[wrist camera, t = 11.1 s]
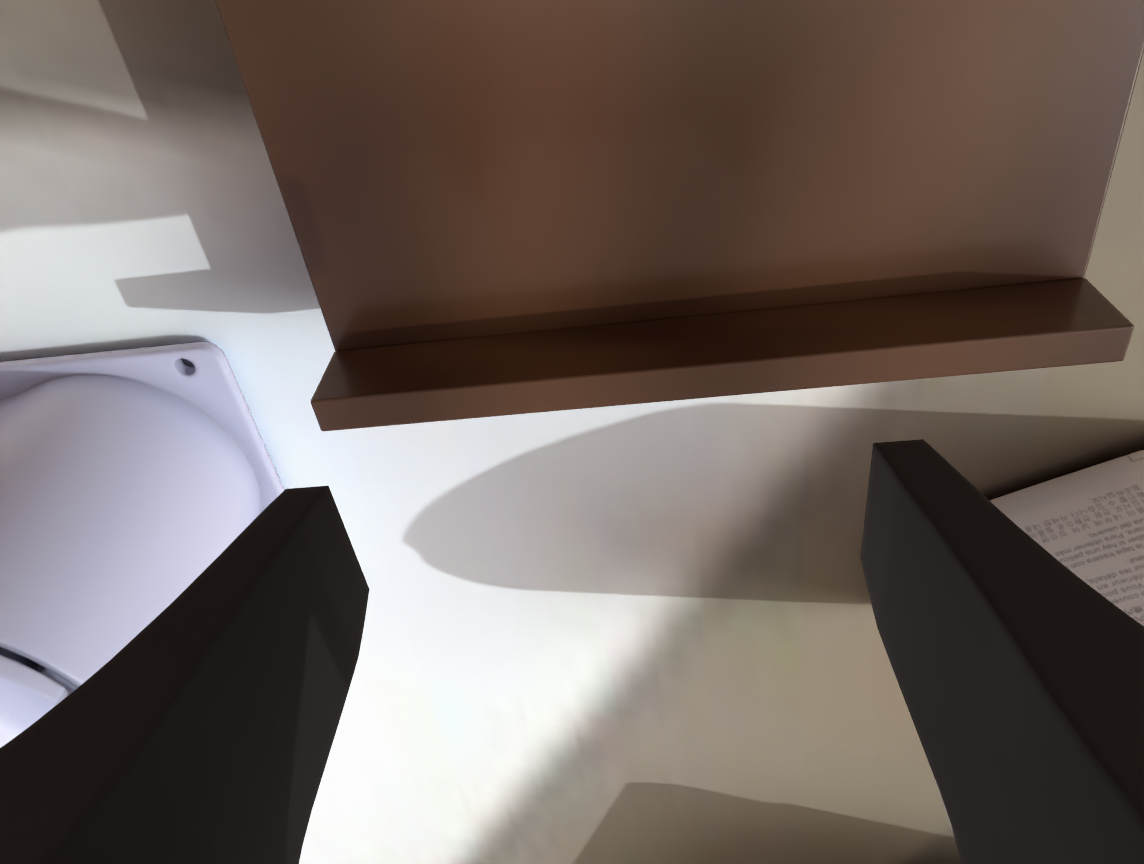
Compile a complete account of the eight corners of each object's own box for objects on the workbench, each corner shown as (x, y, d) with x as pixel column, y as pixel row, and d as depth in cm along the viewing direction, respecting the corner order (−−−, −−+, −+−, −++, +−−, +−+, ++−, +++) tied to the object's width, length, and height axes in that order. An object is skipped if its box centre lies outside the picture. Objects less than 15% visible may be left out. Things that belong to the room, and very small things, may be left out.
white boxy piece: (887, 620, 28) (1046, 1073, 18) (844, 538, 26) (999, 1001, 16) (1234, 511, 24) (1664, 991, 15) (1220, 406, 22) (1715, 886, 12)
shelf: (371, 320, 21) (321, 432, 18) (245, -90, 16) (135, -56, 12) (1023, 254, 20) (1124, 361, 16) (1123, -224, 15) (1310, -233, 11)
